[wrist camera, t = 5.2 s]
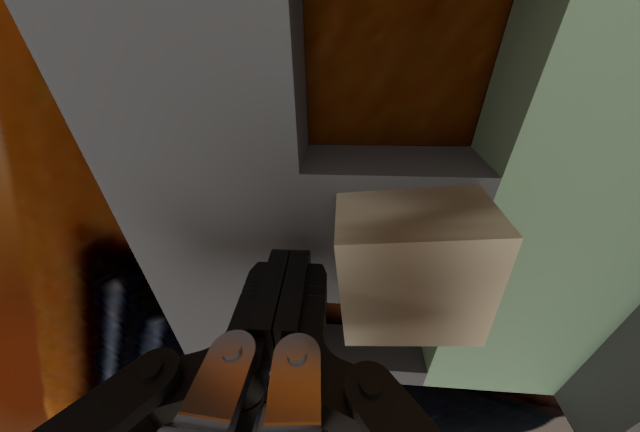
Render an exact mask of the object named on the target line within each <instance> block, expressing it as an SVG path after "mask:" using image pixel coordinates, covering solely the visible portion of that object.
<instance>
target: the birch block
mask: <svg viewBox="0 0 640 432" xmlns="http://www.w3.org/2000/svg"><path fill="white" fill-rule="evenodd" d="M522 241H523V237H522V236H521V235H520V233H519V232H518V231H517V230H516V228H515V227H514V226H513V225H512V223H511V222H510V221H509V220H508V219H507V217H506V216H505V215H504V214H503V212H502V211H501V210H500V209H499V207H498V206H497V205H496V204H495V203H494V201H493V200H492V199H491V198H490V196H489V195H488V194H487V193H486V191H485V190H484V189H483V188H482V187H481V185H480V184H475V185H459V186H442V187H426V188H410V189H393V190H377V191H361V192H345V193H337V195H336V214H335V232H334V252H335V261H336V270H337V279H338V287H339V296H340V305H341V314H342V323H343V332H344V341H345V346H450V347H484V346H485V343H486V341H487V338H488V335H489V332H490V329H491V327H492V324H493V321H494V318H495V316H496V313H497V310H498V307H499V305H500V302H501V299H502V296H503V293H504V291H505V288H506V285H507V282H508V280H509V277H510V274H511V271H512V269H513V266H514V263H515V260H516V257H517V255H518V252H519V249H520V246H521V244H522Z"/></svg>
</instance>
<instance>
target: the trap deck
mask: <svg viewBox="0 0 640 432" xmlns="http://www.w3.org/2000/svg"><path fill="white" fill-rule="evenodd" d="M4 2H5V4H6V6H7V7H8V9H9V11H10V13H11V15H12V17H13V19H14V21H15V23H16V25H17V27H18V29H19V31H20V33H21V35H22V37H23V39H24V41H25V43H26V45H27V47H28V49H29V50H30V52H31V54H32V56H33V58H34V60H35V62H36V64H37V66H38V68H39V70H40V72H41V74H42V76H43V78H44V80H45V82H46V84H47V86H48V88H49V90H50V92H51V93H52V95H53V97H54V99H55V101H56V103H57V105H58V107H59V109H60V111H61V113H62V115H63V117H64V119H65V121H66V123H67V125H68V127H69V129H70V131H71V133H72V135H73V136H74V138H75V140H76V142H77V144H78V146H79V148H80V150H81V152H82V154H83V156H84V158H85V160H86V162H87V164H88V166H89V168H90V170H91V172H92V174H93V176H94V178H95V179H96V181H97V183H98V185H99V187H100V189H101V191H102V193H103V195H104V197H105V199H106V201H107V203H108V205H109V207H110V209H111V211H112V213H113V215H114V217H115V219H116V220H117V222H118V224H119V226H120V228H121V230H122V232H123V234H124V236H125V238H126V240H127V242H128V244H129V246H130V248H131V250H132V252H133V254H134V256H135V258H136V260H137V262H138V263H139V265H140V267H141V269H142V271H143V273H144V275H145V277H146V279H147V281H148V283H149V285H150V287H151V289H152V291H153V293H154V295H155V297H156V299H157V301H158V303H159V305H160V306H161V308H162V310H163V312H164V314H165V316H166V318H167V320H168V322H169V324H170V326H171V328H172V330H173V332H174V334H175V336H176V338H177V340H178V342H179V344H180V346H181V348H182V349H183V351H184V353H185V355H186V354H190V353H194V352H197V351H201V350H204V349H206V348H209V347H210V346H211V345H212V343H213V342H214V341H215V340H216V339H217V338H218V337H219V336H220V335H222V334H224V333H225V332H226V331H227V328H228V326H229V323H230V321H231V318H232V315H233V313H234V310H235V307H236V305H237V302H238V300H239V297H240V294H241V293H242V289H243V286H244V284H245V281H246V278H247V276H248V273H249V271H250V270H251V269H252V268H253V267H254V265H255V264H256V263H257V262H268V259H269V256H270V253H271V250H272V249H289V250H310V254H311V263H312V264H323V266H324V269H325V271H326V273H327V303H340V296H339V287H338V279H337V270H336V261H335V252H334V232H335V214H336V195H337V193H345V192H361V191H377V190H393V189H410V188H426V187H442V186H459V185H475V184H480V185H481V187H482V188H483V189H484V190H485V191H486V193H487V194H488V195H489V196H490V198H491V199H492V200H493V201H494V203H495V204H496V205H497V206H498V207H499V209H500V210H501V211H502V212H503V214H504V215H505V216H506V217H507V219H508V220H509V221H510V222H511V223H512V225H513V226H514V227H515V228H516V230H517V231H518V232H519V233H520V235H521V236H522V237H523V241H522V244H521V246H520V249H519V252H518V255H517V257H516V260H515V263H514V266H513V269H512V271H511V274H510V277H509V280H508V282H507V285H506V288H505V291H504V293H503V296H502V299H501V302H500V305H499V307H498V310H497V313H496V316H495V318H494V321H493V324H492V327H491V329H490V332H489V335H488V338H487V341H486V343H485V346H484V347H450V346H345V341H344V332H343V325H340V324H326V327H325V344H326V346H327V348H328V349H329V350H330V352H331V353H333V354H334V355H335V356H337V357H338V358H340V359H343V360H345V361H347V362H350V363H352V364H356V363H357V362H360V361H374V362H377V363H379V364H381V365H383V366H384V367H385V368H387V369H388V370H389V371H390V373H391V374H392V375H393V376H394V377H395V378H396V379H397V381H398V382H399V383H400V384H405V385H419V386H433V387H447V388H461V389H475V390H488V391H502V392H516V393H530V394H544V395H554V396H555V398H556V400H557V402H558V404H559V406H560V407H561V409H562V411H563V413H564V415H565V416H566V418H567V420H568V422H569V424H570V425H571V427H572V429H573V431H574V432H640V0H514V1H513V4H512V7H511V11H510V14H509V18H508V21H507V25H506V28H505V31H504V35H503V38H502V42H501V45H500V48H499V52H498V55H497V59H496V62H495V65H494V69H493V72H492V76H491V79H490V83H489V86H488V89H487V93H486V96H485V100H484V103H483V106H482V110H481V113H480V117H479V120H478V124H477V127H476V130H475V134H474V137H473V141H472V144H471V146H396V145H316V144H308V121H307V96H306V71H305V46H304V21H303V0H4ZM270 374H271V371H270V373H269V375H270Z"/></svg>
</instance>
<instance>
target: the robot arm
mask: <svg viewBox="0 0 640 432" xmlns="http://www.w3.org/2000/svg"><path fill="white" fill-rule="evenodd" d="M326 311H327V273H326V271H325V269H324V266H323V264H312V263H311V254H310V250H289V249H272V250H271V253H270V256H269V259H268V262H257V263H256V264H255V265H254V267H253V268H252V269H251V270H250V271H249V273H248V276H247V278H246V281H245V284H244V286H243V289H242V293H241V294H240V297H239V300H238V302H237V305H236V307H235V310H234V313H233V315H232V318H231V321H230V323H229V326H228V328H227V331H226V332H225V333H224V334H222V335H220V336H219V337H218V338H217V339H216V340H215V341H214V342H213V343H212V345H211V346H210V347H209V348H206V349H204V350H201V351H197V352H194V353H190V354H186V355H182V356H178V355H177V353H176V352H175V351H174V350H172V349H170V348H157V349H153V350H151V351H149V352H147V353H145V354H143V355H142V356H140V357H139V358H138V359H136V360H135V361H133V362H132V363H130V364H129V365H127V366H126V367H124V368H123V369H122V370H120V371H119V372H117V373H116V374H114V375H113V376H111V377H110V378H109V379H107V380H106V381H104V382H103V383H101V384H100V385H98V386H97V387H96V388H94V389H93V390H91V391H90V392H88V393H87V394H85V395H84V396H82V397H81V398H80V399H78V400H77V401H75V402H74V403H72V404H71V405H69V406H68V407H67V408H65V409H64V410H62V411H61V412H59V413H58V414H56V415H55V416H54V417H52V418H51V419H49V420H48V421H46V422H45V423H43V424H42V425H41V426H39V427H38V428H36V429H35V430H33V431H32V432H257V428H258V425H259V421H260V418H261V414H262V410H263V407H264V403H265V400H266V395H267V388H266V387H267V383H268V378H269V373H270V371H271V374H270V381H269V388H268V396H267V403H266V411H265V418H264V425H263V430H262V432H322V428H323V429H325V430H327V431H329V432H442V431H441V430H440V429H439V428H438V426H437V425H436V424H435V423H434V422H433V421H432V420H431V418H430V417H429V416H428V415H427V414H426V413H425V412H424V410H423V409H422V408H421V407H420V406H419V405H418V404H417V402H416V401H415V400H414V399H413V398H412V397H411V396H410V394H409V393H408V392H407V391H406V390H405V389H404V387H403V386H402V385H401V384H400V383H399V382H398V381H397V379H396V378H395V377H394V376H393V375H392V374H391V373H390V371H389V370H388V369H387V368H385V367H384V366H383V365H381V364H379V363H377V362H374V361H360V362H357V363H356V364H352V363H350V362H347V361H345V360H343V359H340V358H338V357H337V356H335V355H334V354H333V353H331V352H330V350H329V349H328V348H327V346H326V344H325V327H326Z"/></svg>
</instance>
